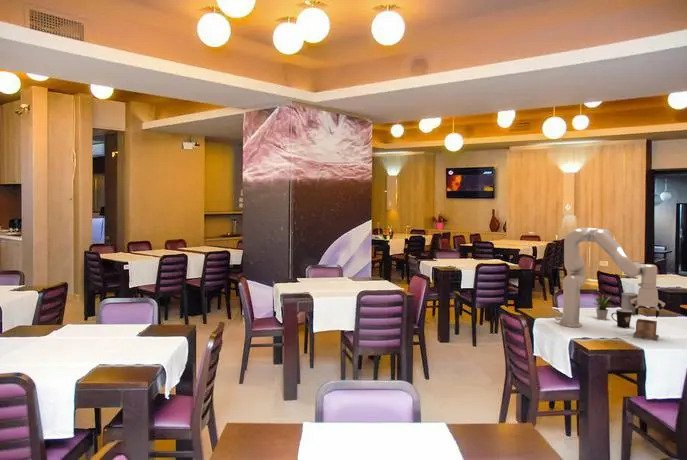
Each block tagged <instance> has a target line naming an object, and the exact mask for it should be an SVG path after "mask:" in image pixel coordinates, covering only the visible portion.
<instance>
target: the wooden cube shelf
mask: <svg viewBox="0 0 687 460" xmlns="http://www.w3.org/2000/svg"><path fill="white" fill-rule="evenodd" d="M657 324H658V323H657V320H650V319H642V318H637V320H636V322H635V331H634V333H633V335H632V338H635V339H643V340H648V341H649V340H650V341H658V340H659V337H660V336H659V334H657V326H658V325H657Z"/></svg>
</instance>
